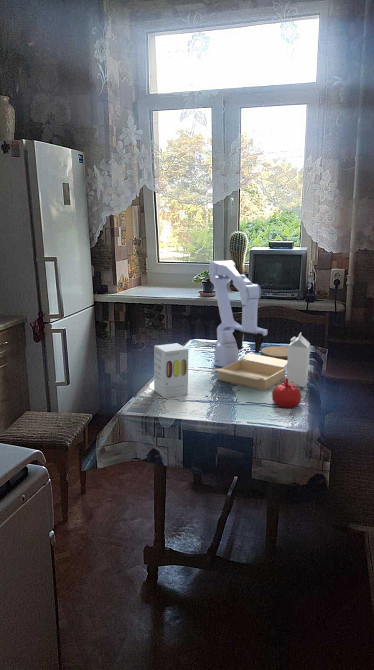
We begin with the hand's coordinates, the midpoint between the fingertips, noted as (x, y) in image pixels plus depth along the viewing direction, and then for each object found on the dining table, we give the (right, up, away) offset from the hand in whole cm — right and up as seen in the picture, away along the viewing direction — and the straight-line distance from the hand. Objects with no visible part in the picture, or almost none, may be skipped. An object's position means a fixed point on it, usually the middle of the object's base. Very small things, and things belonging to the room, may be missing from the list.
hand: (248, 350), depth 197 cm
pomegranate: (+10, -18, -26) cm, 32 cm away
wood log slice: (+17, -4, +29) cm, 34 cm away
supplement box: (-29, -15, -15) cm, 36 cm away
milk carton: (+18, -12, -5) cm, 22 cm away
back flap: (+7, -4, +6) cm, 11 cm away
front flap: (-5, -8, -10) cm, 14 cm away
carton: (+1, -11, -1) cm, 11 cm away
